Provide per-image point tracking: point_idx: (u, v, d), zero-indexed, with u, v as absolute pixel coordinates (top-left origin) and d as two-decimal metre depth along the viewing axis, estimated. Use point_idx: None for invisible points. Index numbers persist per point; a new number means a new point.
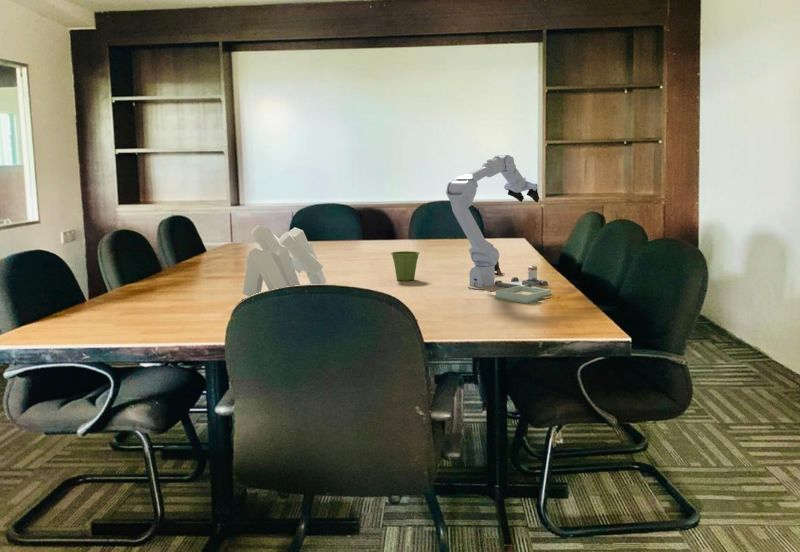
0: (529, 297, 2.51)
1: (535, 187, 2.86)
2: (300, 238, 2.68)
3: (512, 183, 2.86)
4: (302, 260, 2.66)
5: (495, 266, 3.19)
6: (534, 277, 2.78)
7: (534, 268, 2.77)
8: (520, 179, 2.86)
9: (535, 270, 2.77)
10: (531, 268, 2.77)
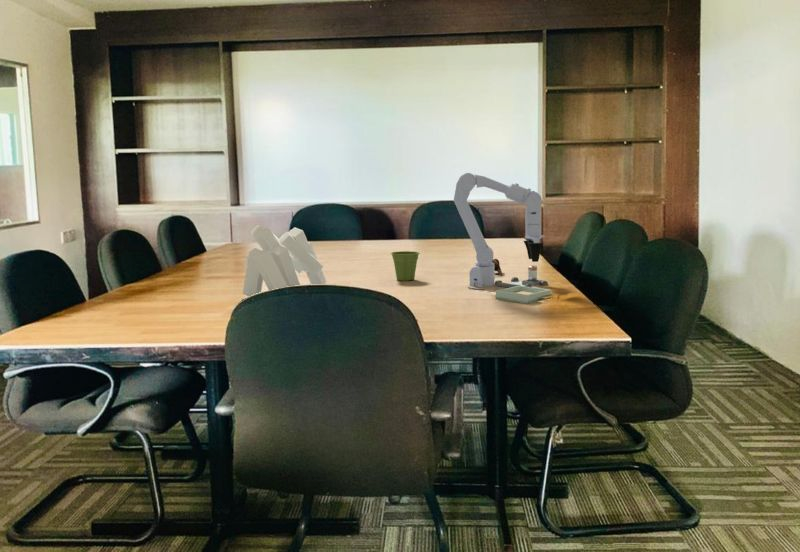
0: (529, 297, 2.51)
1: (536, 240, 2.70)
2: (300, 238, 2.68)
3: (526, 224, 2.76)
4: (302, 260, 2.66)
5: (496, 266, 3.19)
6: (534, 277, 2.78)
7: (534, 268, 2.77)
8: (534, 226, 2.74)
9: (535, 270, 2.77)
10: (531, 268, 2.77)
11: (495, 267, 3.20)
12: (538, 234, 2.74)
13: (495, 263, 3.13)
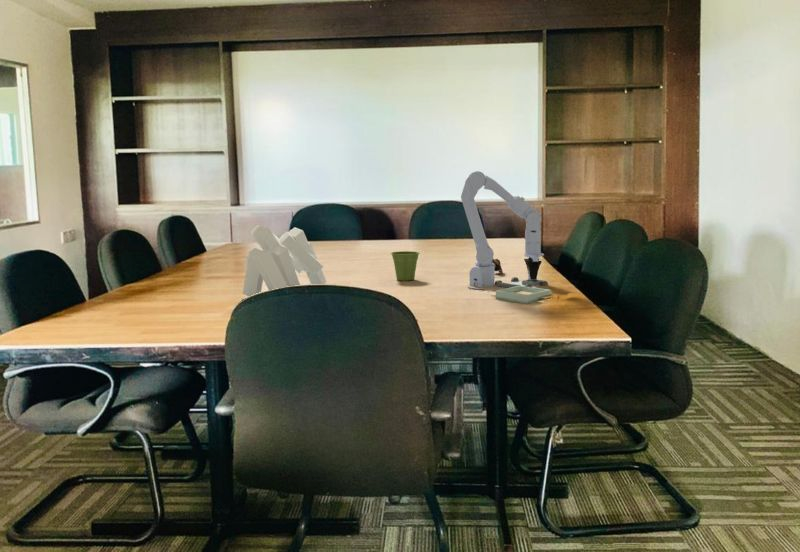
0: (529, 297, 2.51)
1: (535, 259, 2.71)
2: (300, 238, 2.68)
3: (525, 242, 2.76)
4: (302, 260, 2.66)
5: (497, 266, 3.19)
6: None
7: None
8: (533, 244, 2.74)
9: None
10: None
11: (496, 267, 3.19)
12: (537, 252, 2.75)
13: (496, 263, 3.13)
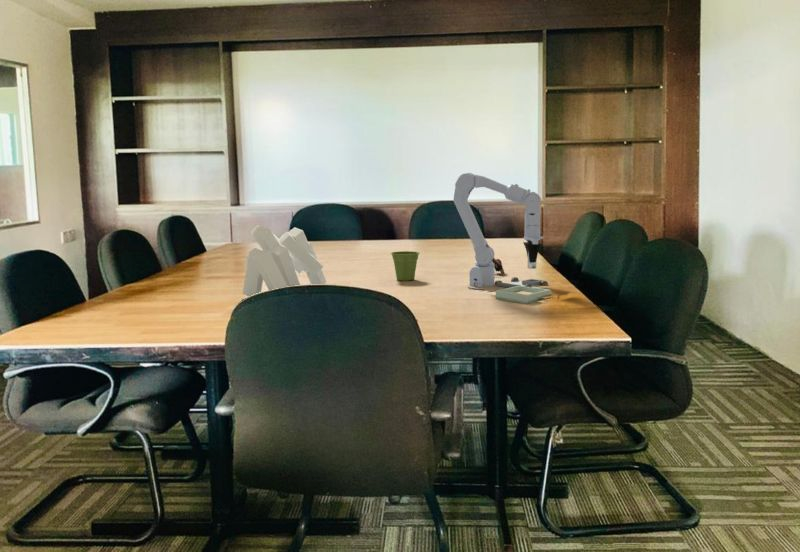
0: (529, 297, 2.51)
1: (535, 241, 2.68)
2: (300, 238, 2.68)
3: (525, 225, 2.74)
4: (302, 260, 2.66)
5: (498, 266, 3.18)
6: None
7: None
8: (533, 227, 2.72)
9: None
10: None
11: (497, 267, 3.18)
12: (537, 235, 2.73)
13: (498, 263, 3.12)
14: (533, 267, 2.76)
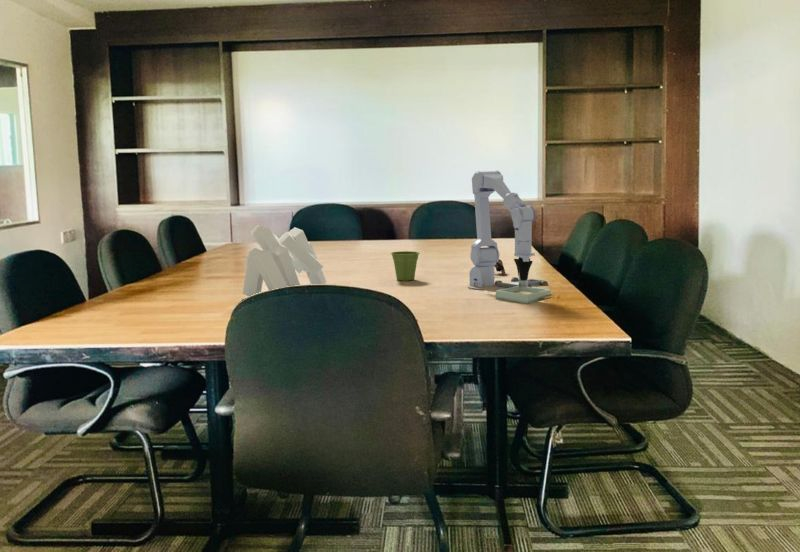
0: (529, 297, 2.51)
1: (525, 258, 2.52)
2: (300, 238, 2.68)
3: (515, 241, 2.57)
4: (302, 260, 2.66)
5: (499, 267, 3.18)
6: None
7: None
8: (523, 243, 2.55)
9: None
10: None
11: (498, 267, 3.18)
12: (528, 252, 2.56)
13: (499, 263, 3.12)
14: (525, 286, 2.59)
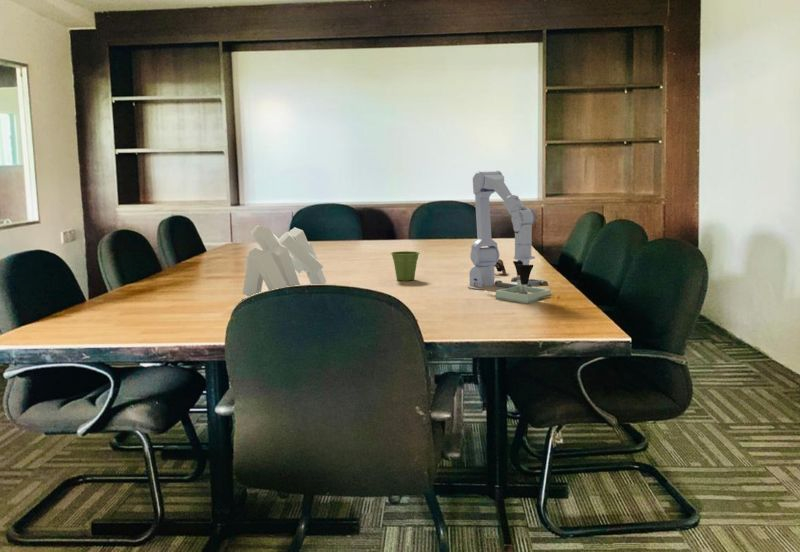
0: (529, 297, 2.51)
1: (525, 262, 2.52)
2: (300, 238, 2.68)
3: (515, 244, 2.57)
4: (302, 260, 2.66)
5: (500, 267, 3.17)
6: (524, 287, 2.59)
7: None
8: (523, 246, 2.55)
9: None
10: None
11: (499, 268, 3.18)
12: (528, 255, 2.56)
13: (500, 264, 3.12)
14: None
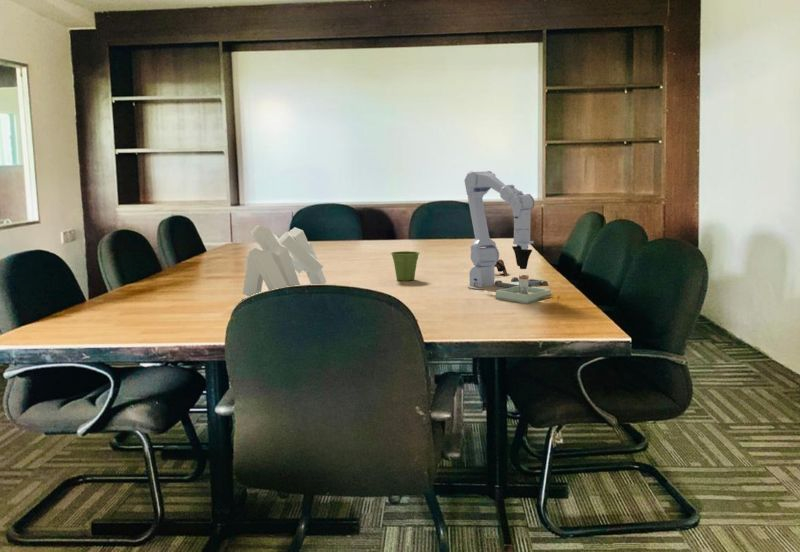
0: (529, 297, 2.51)
1: (524, 246, 2.55)
2: (300, 238, 2.68)
3: (514, 229, 2.60)
4: (302, 260, 2.66)
5: (501, 267, 3.17)
6: (526, 286, 2.59)
7: (526, 277, 2.59)
8: (522, 231, 2.58)
9: (527, 279, 2.59)
10: (523, 277, 2.59)
11: (500, 268, 3.17)
12: (527, 240, 2.59)
13: (501, 264, 3.11)
14: None
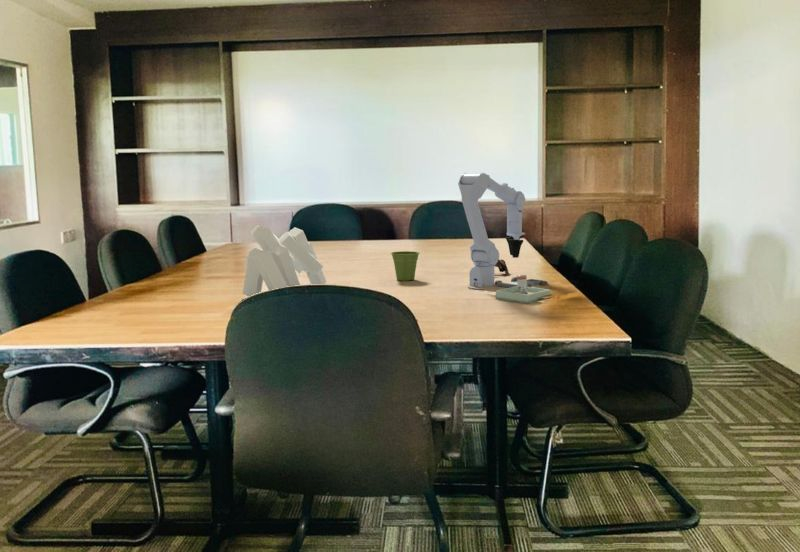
0: (529, 297, 2.51)
1: (516, 237, 2.84)
2: (300, 238, 2.68)
3: (507, 221, 2.90)
4: (302, 260, 2.66)
5: (502, 267, 3.16)
6: (525, 286, 2.59)
7: (524, 277, 2.59)
8: (514, 223, 2.88)
9: (525, 279, 2.59)
10: (521, 277, 2.59)
11: (501, 268, 3.17)
12: (519, 231, 2.89)
13: (502, 264, 3.11)
14: None
